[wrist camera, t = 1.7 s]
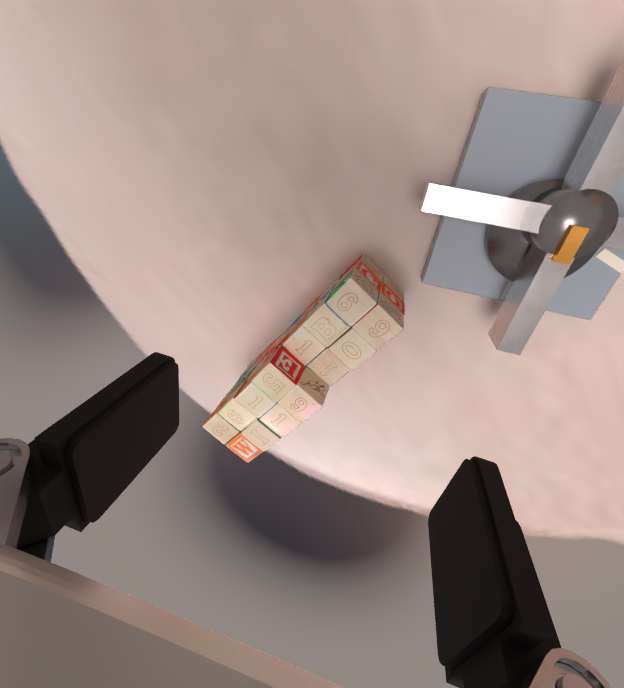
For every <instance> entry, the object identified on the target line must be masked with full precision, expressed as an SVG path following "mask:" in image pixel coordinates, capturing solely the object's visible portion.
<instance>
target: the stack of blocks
mask: <svg viewBox="0 0 624 688" xmlns="http://www.w3.org/2000/svg"><path fill="white" fill-rule="evenodd" d="M403 316H404V294H403V293H402V292H401V291H400V290H399V289H398V288H397V287H396V286H395V284H394V283H393V282H392V281H391V280H390V279H389V278H388V277H387V276H386V275H384V273H383V272H382V271H381V270H380V269H379V268H378V267H377V266H376V265H375V264H374V263H373V262H372V261H371V260H370V259H369V258H368V257H367V256H366V255H365V254H363V255H362V256H361V257H360V258H359V259H358V260H357V261H356V262H355V263H354V264H353V265H352V266H351V267H350V268H349V269H348V270H347V271H346V272H345V273H344V274H342V275H341V276H340V277H339V278H338V279H336V280H335V281H334V282H333V283H332V284H331V285H330V286H329V287H328V288H327V289H326V290H325V292H324V293H322V294H321V295H320V296H319V297H318V298H317V299H316V300H315V301H314V302H313V303H312V304H311V305H310V306H309V307H308V308H307V309H306V311H305V312H304V313H303V314H302V315H301V316H300V317H299V318H298V319H297V320H296V321H295V322H294V323H293V324H292V325H291V326H290V327H289V328H288V329H287V330H286V331H285V332H284V333H283V334H282V335H281V336H280V337H279V338H278V339H277V340H275V341H274V342H273V343H272V344H271V345H270V346H269V347H268V348H267V349H266V350H265V351H264V352H263V353H262V354H260V355H259V356H258V357H257V358H256V359H255V360H254V361H253V362H252V363H251V364H250V365H249V366H248V368H247V369H246V370H245V371H244V373H243V374H242V375H241V376H240V379H239V380H238V381H237V383H236V384H235V385H234V387H233V388H232V389H231V390H230V391H229V392H228V394H227V395H226V396H225V397H224V399H223V400H222V401H221V403H220V404H219V405H218V407H217V408H216V409H215V411H214V412H213V413H212V414H211V416H210V417H209V418H208V420H207V421H206V422H205V423H204V425H203V428H204V429H206V430H207V431H208V432H209V433H211V434H212V435H213V436H214V437H215V438H217V439H218V440H219V441H220V442H221V443H223V444H226V446H227V447H228V448H229V449H231V450H232V451H233V452H234V453H236V454H237V455H238V456H239V457H241V458H242V459H243V460H245V461H246V462H250V461H251V460H252V459H254V458H255V457H256V456H258V455H259V454H260V453H262V452H263V451H266V450H267V449H269V448H270V447H271V446H272V445H274V444H275V443H276V442H277V441H279V440H280V439H281V437H285V436H286V435H288V434H289V433H290V432H291V431H293V430H294V429H295V428H296V427H298V426H299V425H300V424H301V422H304V421H305V420H306V419H307V418H309V417H310V416H311V415H313V414H314V413H315V412H316V411H318V410H319V409H320V408H322V406H323V403H324V400H325V397H326V395H327V392H328V389H329V387H330V386H331V385H332V384H334V383H335V382H336V381H338V380H339V379H340V378H341V377H343V376H344V375H345V374H347V373H348V372H349V371H350V370H353V369H355V368H356V367H357V366H359V365H360V364H361V363H362V362H364V361H365V360H366V359H368V358H369V357H370V356H372V355H373V354H374V353H375V352H376V351H377V349H379V348H380V347H381V346H383V345H384V344H385V343H386V342H388V341H389V340H390V339H392V338H393V337H394V336H396V335H397V334H398V333H399V332H401V331H402V330H403V319H404V317H403Z"/></svg>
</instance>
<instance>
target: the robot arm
mask: <svg viewBox="0 0 624 688" xmlns="http://www.w3.org/2000/svg"><path fill="white" fill-rule="evenodd" d="M178 425H179V377H178V364H176V363H175V360H174V358H172V357H170V356H167V355H164V354H161V353H158V352H155V353H153V354H151V355H150V356H148V357H147V358H145V359H144V360H143V361H141V362H140V363H139V364H137V365H136V366H134V367H133V368H131V369H130V370H129V371H127V372H126V373H124V374H123V375H122V376H120V377H119V378H117V379H116V380H115V381H113V382H112V383H111V384H109V385H108V386H106V387H105V388H104V389H102V390H101V391H99V392H98V393H97V394H95V395H94V396H92V397H91V398H90V399H88V400H87V401H85V402H84V403H83V404H81V405H80V406H78V407H77V408H76V409H74V410H73V411H71V412H70V413H69V414H67V415H66V416H64V417H63V418H62V419H60V420H59V421H57V422H56V423H55V424H53V425H52V426H50V427H49V428H48V429H46V430H45V431H43V432H42V433H41V434H39V435H38V436H36V437H35V440H33V441H32V442H30V443H29V444H28V445H27V443H25V442H24V441H22V440H19V439H13V438H4V439H3V438H2V439H0V688H344V687H341V686H339V685H337V684H335V683H332V682H330V681H328V680H326V679H323V678H321V677H319V676H316V675H314V674H312V673H309V672H307V671H305V670H302V669H300V668H298V667H296V666H293V665H291V664H289V663H287V662H284V661H282V660H279V659H277V658H275V657H273V656H270V655H268V654H266V653H263V652H261V651H258V650H256V649H254V648H252V647H249V646H247V645H244V644H242V643H240V642H238V641H235V640H233V639H231V638H228V637H226V636H224V635H221V634H219V633H217V632H214V631H212V630H210V629H207V628H205V627H202V626H200V625H198V624H196V623H193V622H191V621H189V620H186V619H184V618H182V617H179V616H177V615H174V614H172V613H170V612H168V611H165V610H163V609H161V608H158V607H156V606H154V605H151V604H149V603H147V602H144V601H142V600H139V599H137V598H135V597H132V596H130V595H128V594H125V593H123V592H121V591H118V590H116V589H113V588H111V587H109V586H106V585H104V584H101V583H99V582H96V581H95V580H92V579H90V578H87V577H85V576H83V575H80V574H78V573H76V572H73V571H71V570H68V569H66V568H63V567H61V566H58V565H56V564H53V563H51V558H52V551H53V546H54V539H55V535H56V534H57V533H58V532H59V531H60V529H61V528H62V527H63V526H64V525H65V526H68V527H70V528H73V529H75V530H77V531H80V532H82V530H83V529H84V528H85V527H86V526H87V525H88V524H89V523H90V522H95V521H97V520H98V519H99V518H100V517H101V516H102V515H103V514H104V512H105V511H106V510H107V509H108V508H109V507H110V506H111V504H112V503H113V502H114V501H115V500H116V499H117V498H118V496H119V495H120V494H121V493H122V492H123V491H124V490H125V489H126V488H127V486H128V485H129V484H130V483H131V482H132V481H133V480H134V478H135V477H136V476H137V475H138V474H139V473H140V472H141V471H142V469H143V468H144V467H145V466H146V465H147V463H149V461H150V460H151V459H152V458H153V457H154V456H155V455H156V454H157V452H158V451H159V450H160V449H161V448H162V447H163V445H164V444H165V443H166V442H167V441H168V440H169V439H170V438H171V436H172V435H173V434H174V433H175V432H176V430H177V428H178ZM428 526H429V539H430V552H431V567H432V579H433V594H434V607H435V620H436V633H437V647H438V657H439V661H440V663H441V664H442V665H443V666H445V670H446V682H447V683H449V684H451V685H454V686H456V687H459V688H611V686H610V685H609V683H608V682H607V681H606V680H605V679H604V678H603V676H602V675H601V674H600V673H599V672H598V671H597V670H596V669H595V668H594V667H593V666H592V665H591V664H590V663H588V662H587V661H586V660H585V659H584V658H582V657H581V656H579V655H577V654H576V653H574V652H572V651H569V650H566V649H563V648H561V646H560V642H559V640H558V637H557V634H556V631H555V628H554V625H553V622H552V619H551V616H550V613H549V610H548V607H547V604H546V601H545V598H544V595H543V592H542V589H541V586H540V583H539V580H538V577H537V574H536V571H535V568H534V565H533V562H532V559H531V556H530V553H529V550H528V547H527V544H526V541H525V538H524V535H523V532H522V529H521V527H520V525H519V523H518V522H517V521H516V520H515V517H514V514H513V511H512V508H511V505H510V502H509V499H508V496H507V493H506V490H505V487H504V484H503V481H502V477H501V474H500V471H499V468H498V466H497V464H496V463H494V462H491V461H488V460H485V459H482V458H479V457H472V458H471V459H470V460H469V459H465V460H464V461H463V463H462V464H461V466H460V467H459V469H458V470H457V472H456V473H455V475H454V476H453V478H452V479H451V481H450V482H449V484H448V486H447V487H446V489H445V490H444V492H443V493H442V495H441V496H440V498H439V499H438V501H437V502H436V504H435V505H434V507H433V508H432V510H431V512H430V514H429V520H428Z"/></svg>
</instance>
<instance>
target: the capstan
mask: <svg viewBox="0 0 624 688" xmlns="http://www.w3.org/2000/svg"><path fill="white" fill-rule="evenodd" d="M623 173H624V58H623V60H622V62H621V64H620V66H619V68H618V70H617V73H616V75H615V77H614V79H613V81H612V83H611V85H610V87H609V89H608V91H607V93H606V95H605V97H604V99H603V101H602V103H601V105H600V107H599V109H598V111H597V113H596V115H595V117H594V119H593V121H592V123H591V126H590V128H589V130H588V132H587V134H586V136H585V138H584V140H583V142H582V144H581V146H580V148H579V150H578V152H577V154H576V156H575V158H574V160H573V162H572V164H571V166H570V168H569V170H568V172H567V174H566V176H565V179H562V178H554V179H545V180H541V181H537V182H534V183H531V184H529V185H527V186H525V187H523V188H521V189H519V190H518V191H516V192H515V193H513V194H512V195H511V196H509V197H506V196H501V195H495V194H489V193H484V192H478V191H473V190H467V189H462V188H456V187H450V186H445V185H439V184H434V183H428V182H427V183H426V186H425V190H424V193H423V196H422V200H421V203H420V206H419V208H420V209H421V211H423V212H429V213H434V214H439V215H444V216H449V217H455V218H460V219H465V220H470V221H476V222H481V223H486V224H489V225H488V227H487V231H486V235H485V250H486V254H487V257H488V259H489V261H490V263H491V264H492V266H493V267H494V268H495V269H496V270H497V271H498V272H499V273H500V274H501V275H502V276H503V277H505V278H506V279H508V280H510V281H512V282H513V285H512V287H511V289H510V291H509V293H508V295H507V297H506V299H505V301H504V303H503V305H502V307H501V309H500V311H499V313H498V315H497V317H496V319H495V321H494V323H493V325H492V327H491V329H490V331H489V333H488V334H489V336H490V338H491V340H492V341H493V343H494V345H495V347H496V349H497V350H501V351H505V352H509V353H513V354H517V355H520V354H521V352H522V350H523V348H524V347H525V345H526V343H527V341H528V340H529V338H530V336H531V334H532V333H533V331H534V329H535V327H536V326H537V324H538V322H539V320H540V319H541V317H542V315H543V313H544V312H545V310H546V308H547V306H548V305H549V303H550V301H551V299H552V297H553V296H554V294H555V292H556V290H557V289H558V287H559V285H560V283H561V282H562V280H563V278H565V277H567V276H569V275H571V274H573V273H574V272H576V271H577V270H579V269H580V268H581V267H582V266H584V265H585V264H586V263H587V262H588V261H589V260H590V259H591V258H592V257H593V255H594V254H595V253H596V252H597V250H598V249H599V247H601V246H606V247H611V248H616V249H622V250H624V218H623V217H619V210H618V206H617V203H616V201H615V200H614V199H613V197H612V196H610V195H611V194H612V192H613V190H614V188H615V187H616V185H617V183H618V181H619V180H620V178H621V176H622V174H623Z"/></svg>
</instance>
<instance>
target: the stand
mask: <svg viewBox="0 0 624 688" xmlns="http://www.w3.org/2000/svg"><path fill="white" fill-rule="evenodd" d="M601 103H602V102H596V101H589V100H582V99H575V98H567V97H560V96H553V95H545V94H538V93H531V92H523V91H516V90H509V89H502V88H494V87H488V88H487V89H486V90H485V91H484V92H483V94H482V97H481V100H480V103H479V106H478V109H477V112H476V115H475V118H474V121H473V124H472V127H471V130H470V133H469V136H468V139H467V142H466V145H465V148H464V151H463V154H462V157H461V160H460V163H459V166H458V169H457V172H456V175H455V178H454V181H453V184H452V187H456V188H462V189H467V190H473V191H478V192H484V193H489V194H495V195H501V196H506V197H509V196H511V195H512V194H513V193H515V192H516V191H518V190H519V189H521V188H523V187H525V186H527V185H529V184H531V183H534V182H537V181H541V180H545V179H554V178H562V179H565V176H566V174H567V172H568V170H569V168H570V166H571V164H572V162H573V160H574V158H575V156H576V154H577V152H578V150H579V148H580V146H581V144H582V142H583V140H584V138H585V136H586V134H587V132H588V130H589V128H590V126H591V123H592V121H593V119H594V117H595V115H596V113H597V111H598V109H599V107H600V105H601ZM610 196H612V197H613V199H614V200H615V201H616V203H617V206H618V210H619V217H623V218H624V173H623V174H622V176H621V178H620V180H619V181H618V183H617V185H616V187H615V188H614V190H613V192H612V194H611V195H610ZM488 225H489V224H486V223H481V222H476V221H470V220H465V219H460V218H455V217H449V216H444V215H442V216H441V219H440V222H439V225H438V228H437V231H436V234H435V237H434V240H433V243H432V246H431V249H430V252H429V255H428V258H427V261H426V264H425V267H424V270H423V273H422V276H421V279H422V283H424V284H429V285H433V286H438V287H442V288H447V289H451V290H456V291H460V292H465V293H469V294H474V295H478V296H483V297H487V298H492V299H496V300H501V301H505V299H506V297H507V295H508V293H509V291H510V289H511V287H512V285H513V282H512V281H510V280H508V279H506V278H505V277H503V276H502V275H501V274H500V273H499V272H498V271H497V270H496V269H495V268H494V267H493V266H492V264H491V263H490V261H489V259H488V257H487V254H486V250H485V235H486V231H487V227H488ZM623 272H624V250H622V249H616V248H611V247H606V246H601V247H599V249H598V250H597V252H596V253H595V254H594V255H593V257H592V258H591V259H590V260H589V261H588V262H587V263H586V264H585V265H584V266H582V267H581V268H580V269H579V270H577V271H576V272H574V273H573V274H571V275H569V276H567V277H565V278H563V280H562V282H561V283H560V285H559V287H558V289H557V290H556V292H555V294H554V296H553V297H552V299H551V301H550V303H549V305H548V306H547V308H546V311H551V312H555V313H560V314H564V315H569V316H573V317H578V318H582V319H587V320H591V319H592V317H593V316H594V314H595V313H596V311H597V310H598V308H599V306H600V305H601V303H602V302H603V300H604V299H605V297H606V296H607V294H608V293H609V291H610V290H611V288H612V287H613V285H614V284H615V282H616V281H617V279H618V278H619V276H620V275H621V273H623Z"/></svg>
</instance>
